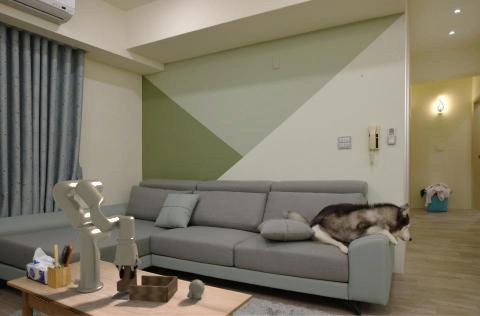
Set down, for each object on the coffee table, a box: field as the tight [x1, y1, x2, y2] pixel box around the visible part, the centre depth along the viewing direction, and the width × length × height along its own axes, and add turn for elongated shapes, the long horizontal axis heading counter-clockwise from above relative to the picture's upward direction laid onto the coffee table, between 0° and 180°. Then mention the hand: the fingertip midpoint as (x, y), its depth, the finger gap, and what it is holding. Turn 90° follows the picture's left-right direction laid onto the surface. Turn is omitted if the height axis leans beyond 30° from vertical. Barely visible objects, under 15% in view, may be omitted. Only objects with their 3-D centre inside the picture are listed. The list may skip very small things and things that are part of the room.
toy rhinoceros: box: [186, 279, 206, 300], centre depth 155 cm, size 7×12×8 cm, turn 160°
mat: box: [110, 290, 129, 301], centre depth 159 cm, size 9×12×1 cm
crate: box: [128, 274, 179, 303], centre depth 157 cm, size 19×14×7 cm
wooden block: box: [116, 263, 138, 292], centre depth 160 cm, size 9×4×18 cm, turn 148°
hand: (127, 277), depth 159 cm, fingers closed on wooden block, 5 cm apart
